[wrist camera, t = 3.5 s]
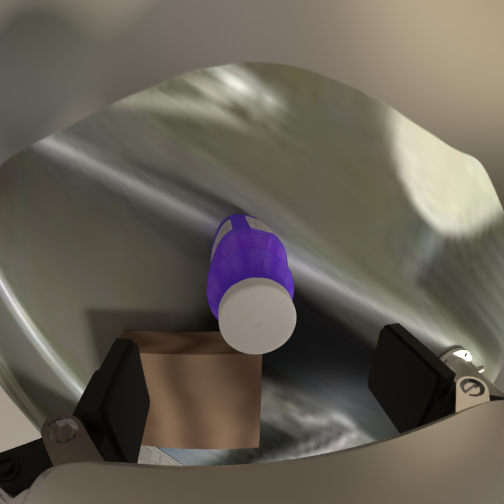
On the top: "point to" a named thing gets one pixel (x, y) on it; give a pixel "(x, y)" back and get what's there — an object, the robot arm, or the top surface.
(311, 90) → the top surface
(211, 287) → the bottle
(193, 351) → the plinth
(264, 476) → the robot arm
